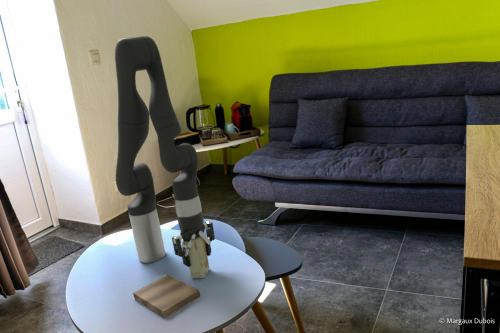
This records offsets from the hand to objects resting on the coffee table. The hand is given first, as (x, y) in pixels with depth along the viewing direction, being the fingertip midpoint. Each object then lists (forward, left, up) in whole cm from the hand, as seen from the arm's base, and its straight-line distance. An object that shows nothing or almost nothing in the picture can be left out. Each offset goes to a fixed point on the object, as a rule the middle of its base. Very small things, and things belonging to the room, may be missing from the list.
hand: (198, 260), depth 132 cm
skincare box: (0, 0, -5) cm, 5 cm away
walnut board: (+2, -14, -5) cm, 15 cm away
